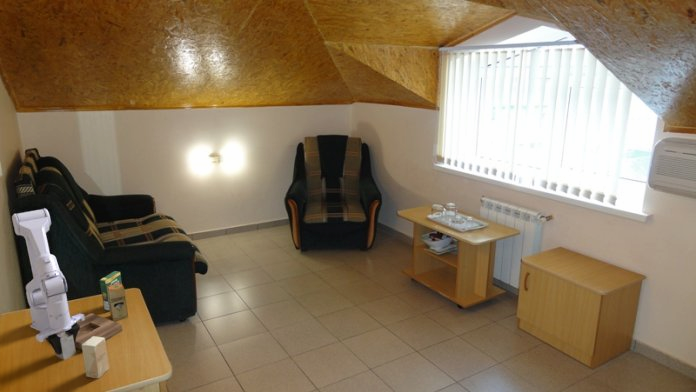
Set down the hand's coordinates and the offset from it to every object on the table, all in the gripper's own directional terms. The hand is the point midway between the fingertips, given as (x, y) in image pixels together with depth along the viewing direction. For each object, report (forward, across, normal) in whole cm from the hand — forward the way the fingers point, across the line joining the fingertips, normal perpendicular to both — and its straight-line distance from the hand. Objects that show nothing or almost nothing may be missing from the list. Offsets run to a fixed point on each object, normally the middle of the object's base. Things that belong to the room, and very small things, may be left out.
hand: (65, 349), depth 154 cm
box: (+2, -1, -17) cm, 17 cm away
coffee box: (+2, +28, +13) cm, 31 cm away
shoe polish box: (+2, +24, +5) cm, 25 cm away
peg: (+2, 0, 0) cm, 2 cm away
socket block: (+2, +11, +4) cm, 12 cm away
